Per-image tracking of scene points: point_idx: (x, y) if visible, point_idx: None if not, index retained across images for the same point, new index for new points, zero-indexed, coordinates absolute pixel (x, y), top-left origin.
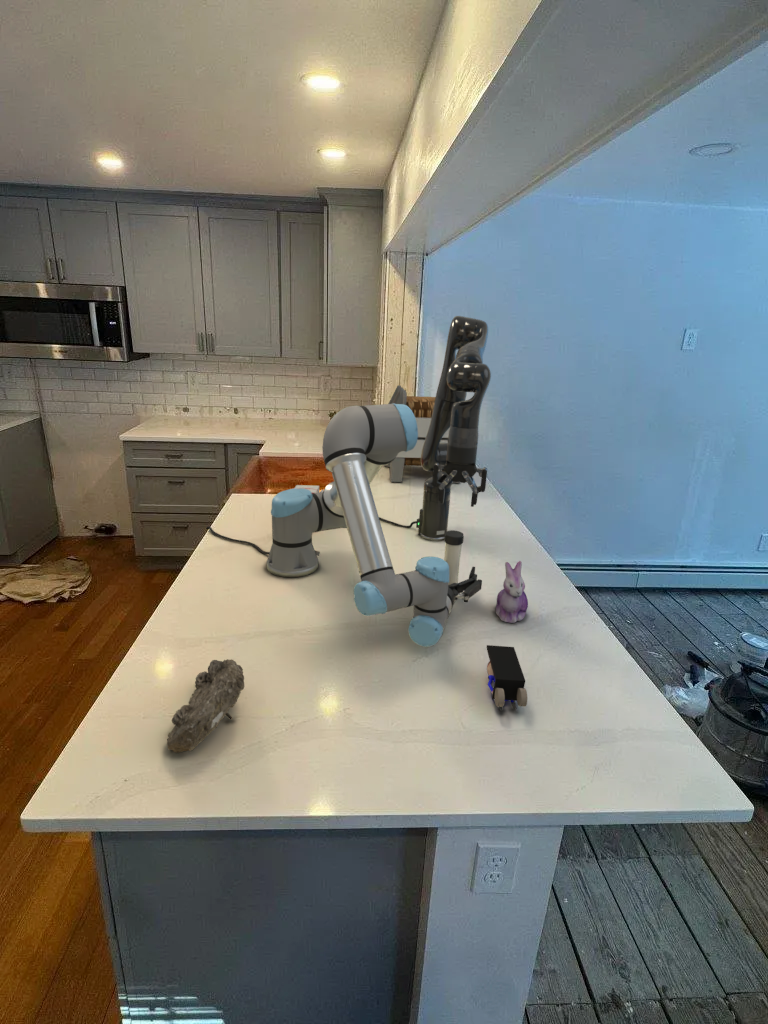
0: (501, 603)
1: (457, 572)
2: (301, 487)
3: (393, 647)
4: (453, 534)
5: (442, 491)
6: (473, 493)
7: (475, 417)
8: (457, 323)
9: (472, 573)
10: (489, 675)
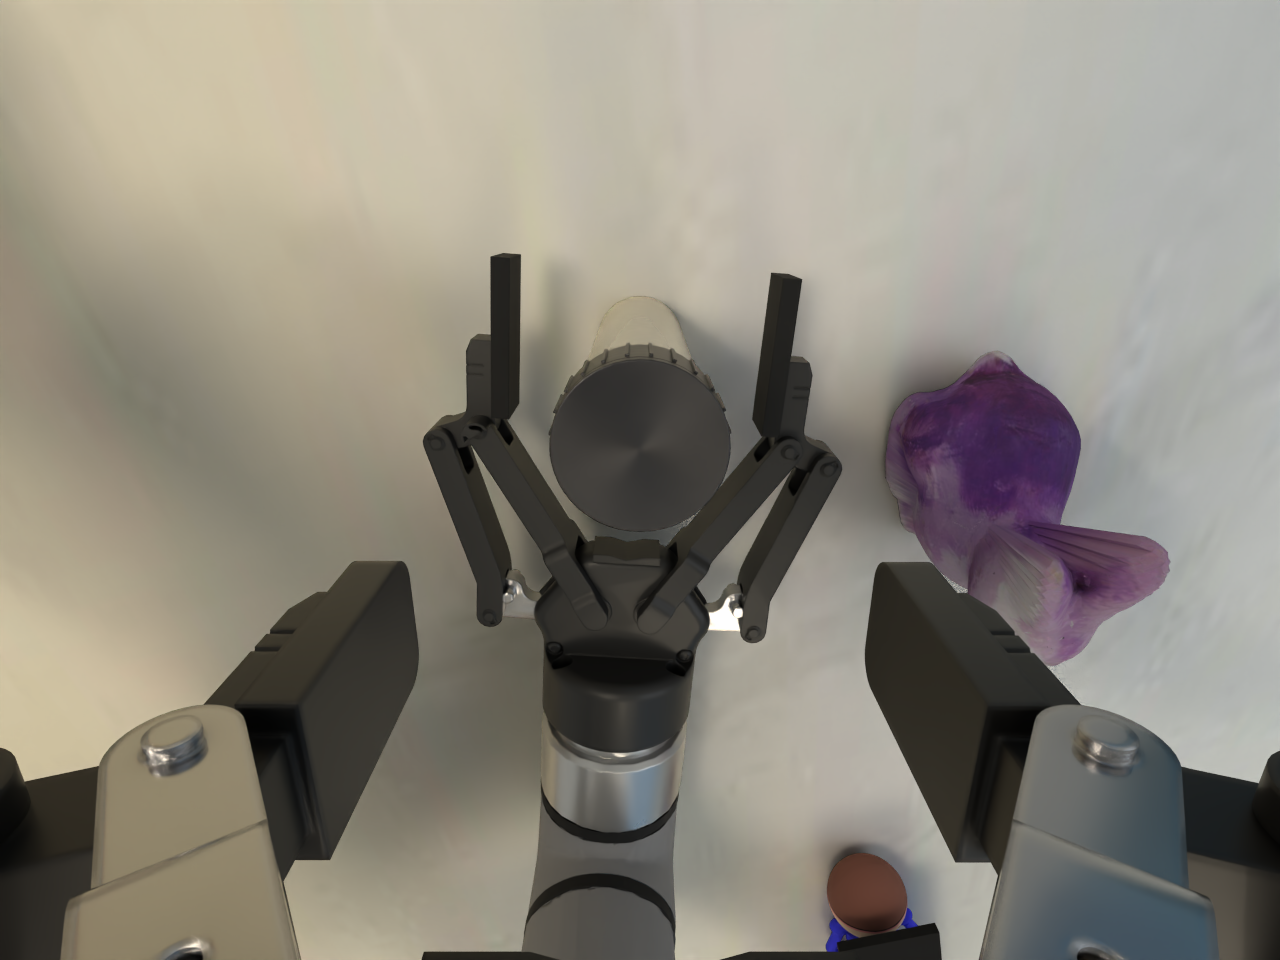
0: (927, 555)
1: None
2: None
3: (497, 797)
4: (633, 472)
5: (306, 843)
6: (988, 843)
7: None
8: None
9: (782, 392)
10: (834, 929)
